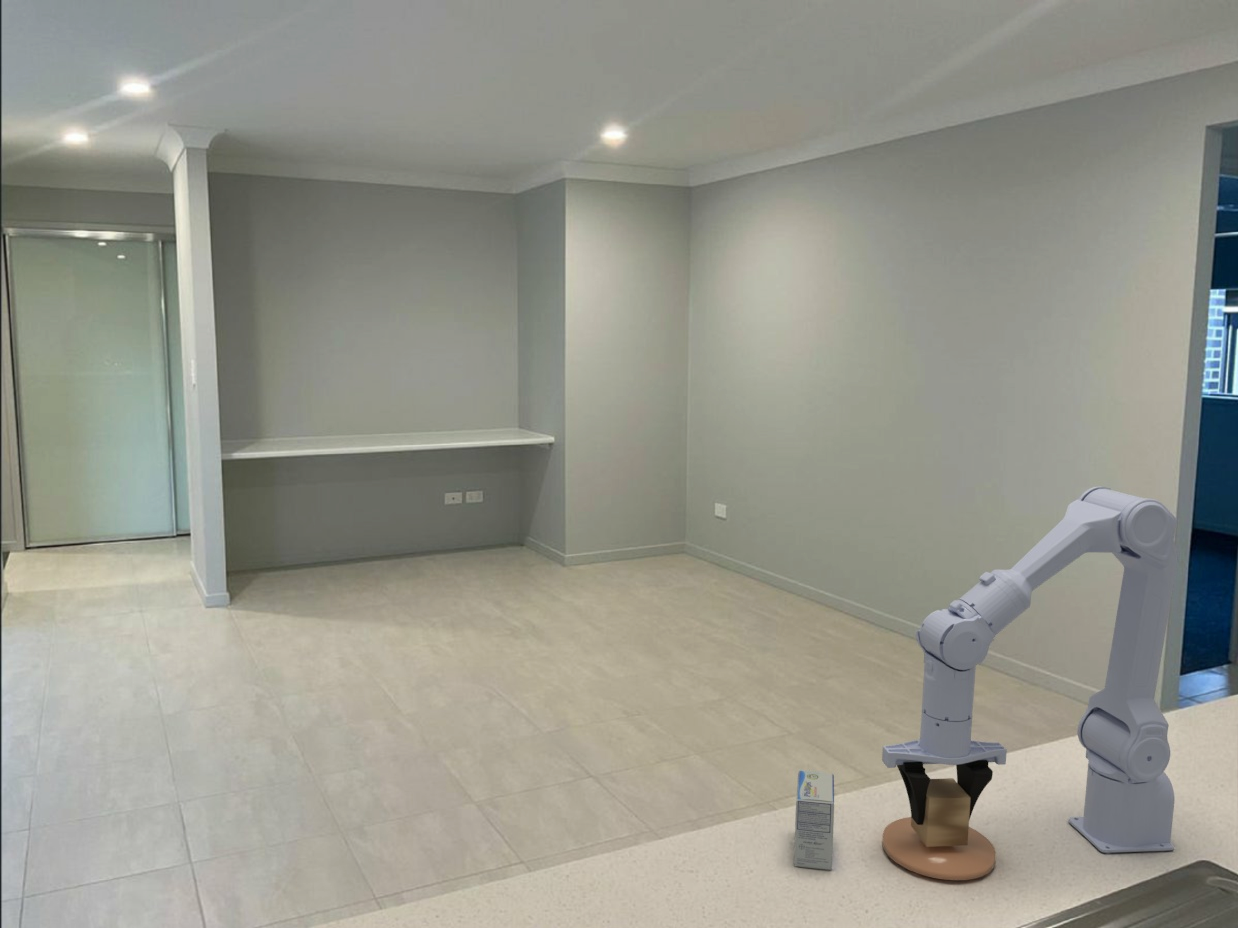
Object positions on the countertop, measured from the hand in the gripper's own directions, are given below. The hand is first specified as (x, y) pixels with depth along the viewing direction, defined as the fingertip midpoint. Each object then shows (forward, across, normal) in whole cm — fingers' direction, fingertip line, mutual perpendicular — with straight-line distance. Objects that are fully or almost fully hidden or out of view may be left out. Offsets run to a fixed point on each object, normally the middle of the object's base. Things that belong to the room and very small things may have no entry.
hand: (939, 819), depth 120 cm
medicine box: (+5, +15, -2) cm, 16 cm away
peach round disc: (+4, 0, 0) cm, 4 cm away
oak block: (+2, 0, 0) cm, 2 cm away
